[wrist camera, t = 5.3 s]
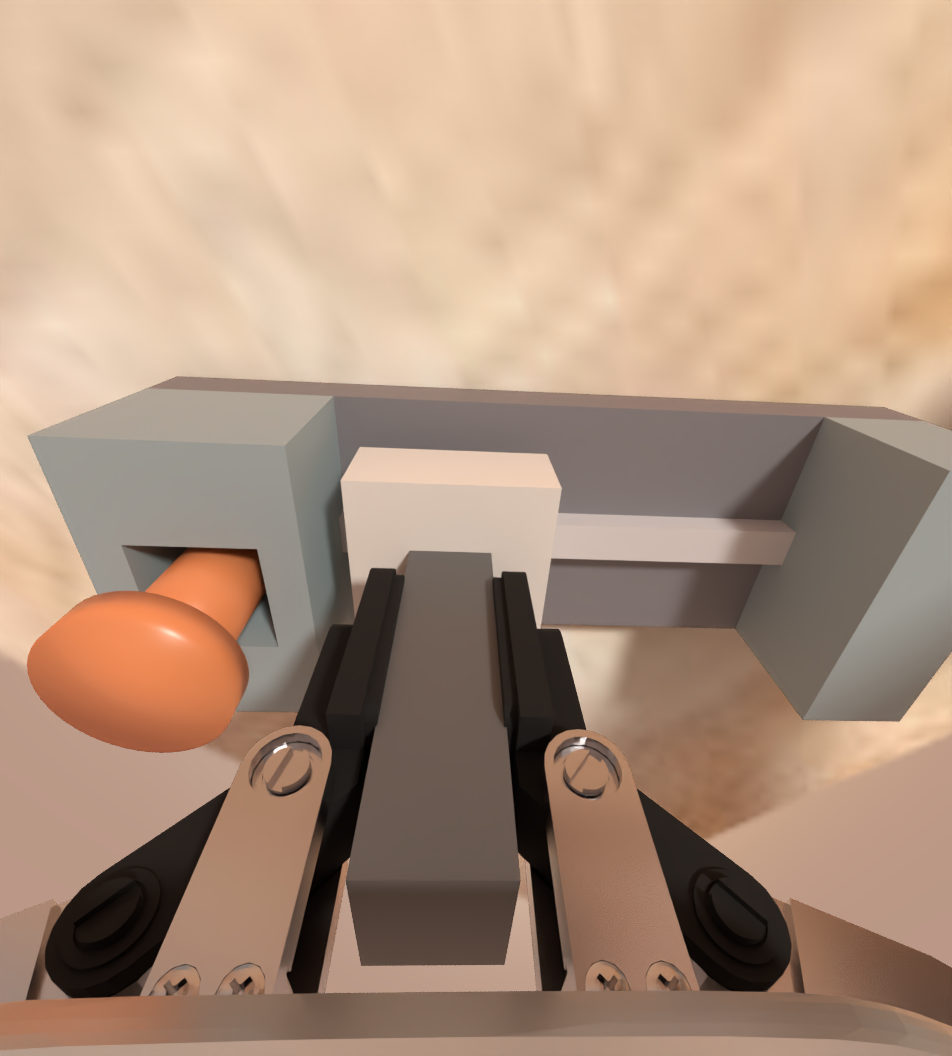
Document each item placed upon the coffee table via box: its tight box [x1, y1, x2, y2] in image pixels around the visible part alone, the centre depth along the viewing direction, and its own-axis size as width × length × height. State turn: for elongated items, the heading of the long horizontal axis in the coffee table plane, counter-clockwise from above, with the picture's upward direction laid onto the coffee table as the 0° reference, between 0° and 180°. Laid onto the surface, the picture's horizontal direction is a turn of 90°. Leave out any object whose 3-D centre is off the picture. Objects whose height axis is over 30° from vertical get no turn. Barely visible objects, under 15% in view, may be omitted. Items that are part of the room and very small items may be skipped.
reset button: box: [27, 547, 266, 753], centre depth 11 cm, size 4×4×5 cm
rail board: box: [28, 377, 952, 721], centre depth 14 cm, size 22×8×6 cm, turn 87°
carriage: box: [341, 447, 562, 966], centre depth 10 cm, size 5×6×9 cm
